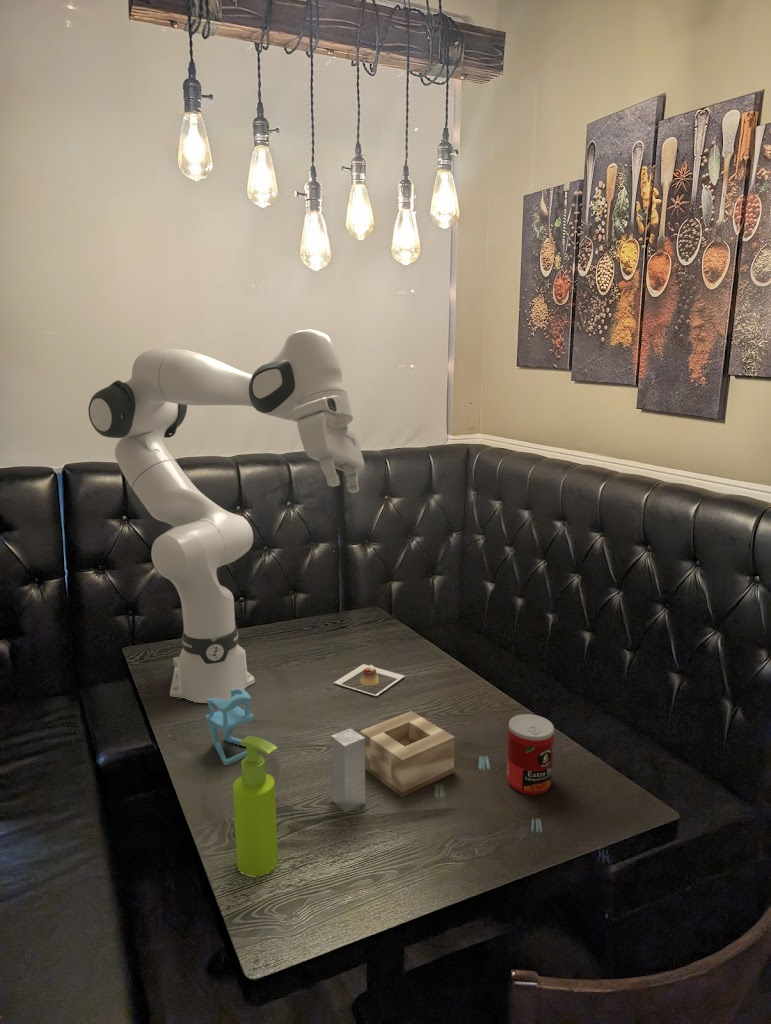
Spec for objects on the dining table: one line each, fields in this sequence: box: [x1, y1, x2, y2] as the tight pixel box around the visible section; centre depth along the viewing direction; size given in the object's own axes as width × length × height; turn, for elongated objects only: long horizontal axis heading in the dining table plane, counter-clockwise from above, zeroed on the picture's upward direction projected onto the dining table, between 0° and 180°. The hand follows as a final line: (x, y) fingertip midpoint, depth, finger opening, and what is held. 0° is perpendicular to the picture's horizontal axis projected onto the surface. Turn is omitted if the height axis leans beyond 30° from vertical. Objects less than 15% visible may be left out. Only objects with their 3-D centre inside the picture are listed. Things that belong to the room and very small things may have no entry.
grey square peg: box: [330, 727, 366, 813], centre depth 116 cm, size 4×4×12 cm
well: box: [359, 710, 456, 798], centre depth 126 cm, size 12×12×7 cm
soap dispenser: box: [232, 734, 279, 876], centre depth 101 cm, size 6×7×20 cm
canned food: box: [506, 713, 555, 796], centre depth 121 cm, size 8×8×11 cm
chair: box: [205, 689, 255, 766], centre depth 132 cm, size 8×8×12 cm
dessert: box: [333, 663, 406, 697], centre depth 161 cm, size 12×12×5 cm
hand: (344, 489), depth 123 cm, fingers open, 8 cm apart
